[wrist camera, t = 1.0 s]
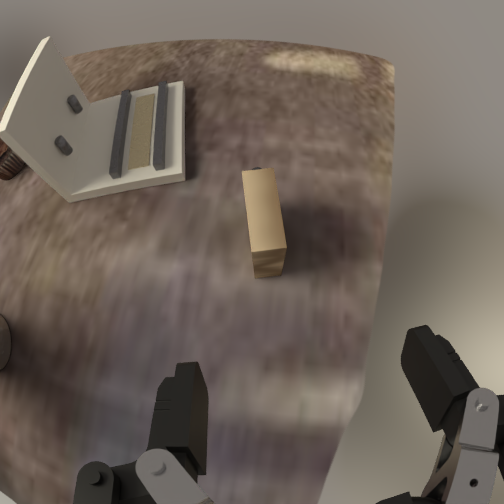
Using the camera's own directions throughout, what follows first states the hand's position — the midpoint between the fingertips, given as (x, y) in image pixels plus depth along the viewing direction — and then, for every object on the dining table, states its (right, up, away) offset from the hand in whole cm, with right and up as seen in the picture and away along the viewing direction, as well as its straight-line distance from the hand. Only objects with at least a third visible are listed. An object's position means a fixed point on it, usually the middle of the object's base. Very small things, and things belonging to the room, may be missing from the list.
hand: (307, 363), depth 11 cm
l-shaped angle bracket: (-21, +21, +32) cm, 44 cm away
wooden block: (-1, +5, +27) cm, 27 cm away
